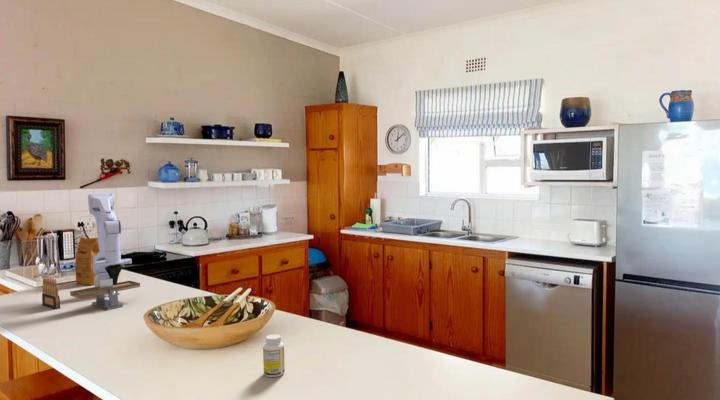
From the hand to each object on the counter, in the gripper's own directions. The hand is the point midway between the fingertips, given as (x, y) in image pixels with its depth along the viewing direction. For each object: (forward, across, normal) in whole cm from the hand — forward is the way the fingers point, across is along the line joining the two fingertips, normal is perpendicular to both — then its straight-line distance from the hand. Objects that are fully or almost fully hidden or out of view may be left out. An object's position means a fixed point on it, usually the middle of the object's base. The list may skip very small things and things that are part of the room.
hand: (114, 283), depth 211 cm
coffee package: (+8, +12, +47) cm, 49 cm away
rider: (+1, -4, +1) cm, 4 cm away
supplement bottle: (+9, -9, -104) cm, 105 cm away
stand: (+8, -3, 0) cm, 9 cm away
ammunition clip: (+9, -17, +17) cm, 26 cm away
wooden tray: (+2, -3, 0) cm, 4 cm away
